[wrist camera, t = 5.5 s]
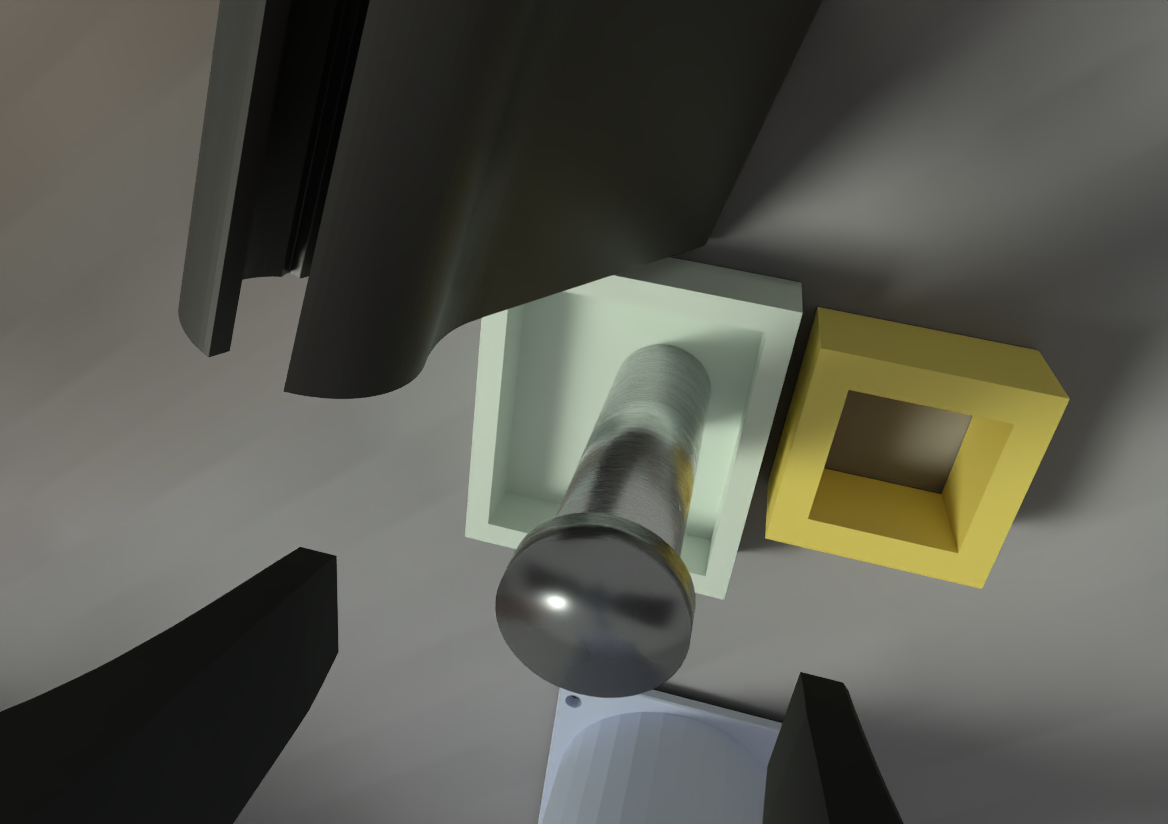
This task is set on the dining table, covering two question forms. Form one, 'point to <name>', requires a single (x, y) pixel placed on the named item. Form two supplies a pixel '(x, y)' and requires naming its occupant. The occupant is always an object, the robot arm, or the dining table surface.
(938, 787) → the dining table surface
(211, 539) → the dining table surface
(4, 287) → the dining table surface
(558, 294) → the tray
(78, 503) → the dining table surface
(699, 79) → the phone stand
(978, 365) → the pin socket
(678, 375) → the stop pin
